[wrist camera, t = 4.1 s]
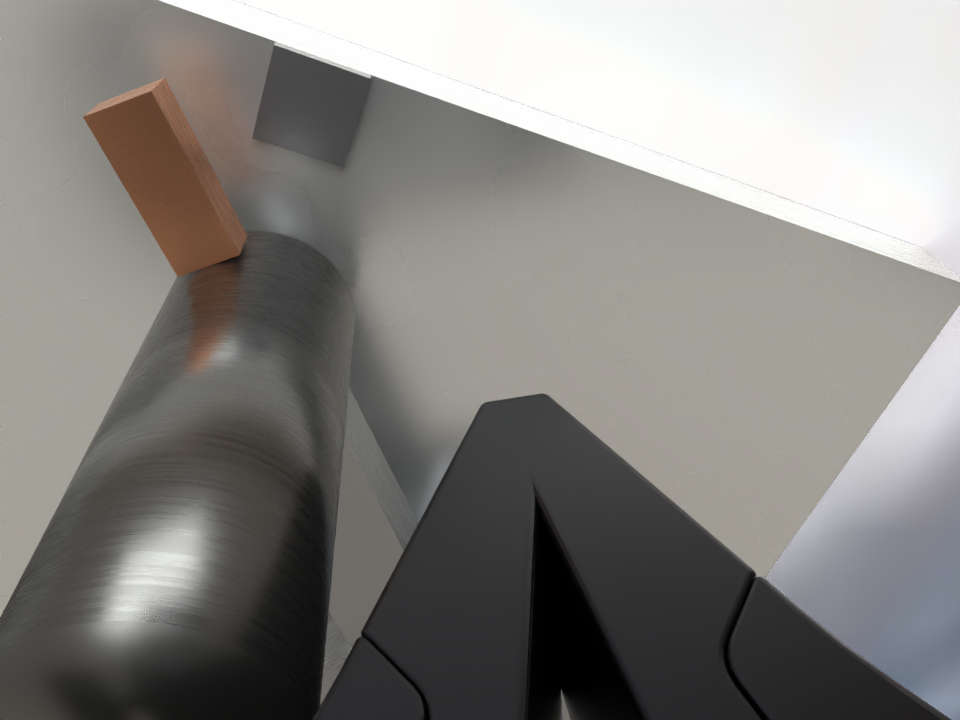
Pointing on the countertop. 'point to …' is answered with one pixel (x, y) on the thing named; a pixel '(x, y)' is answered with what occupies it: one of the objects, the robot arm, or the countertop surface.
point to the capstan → (210, 478)
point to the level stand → (443, 268)
